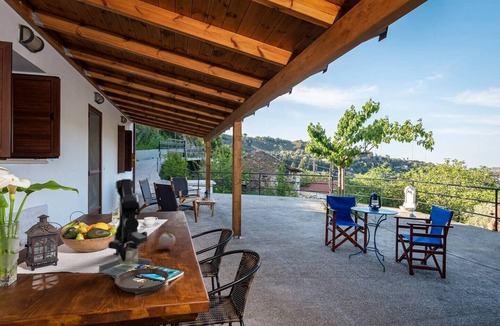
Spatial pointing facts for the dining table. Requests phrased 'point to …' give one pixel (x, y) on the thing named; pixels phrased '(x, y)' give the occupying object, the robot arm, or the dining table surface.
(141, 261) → the corner arena
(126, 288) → the plant saucer
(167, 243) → the decorative fruit
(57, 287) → the dining table surface
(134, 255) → the birch block
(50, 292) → the dining table surface
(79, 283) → the dining table surface
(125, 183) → the robot arm
